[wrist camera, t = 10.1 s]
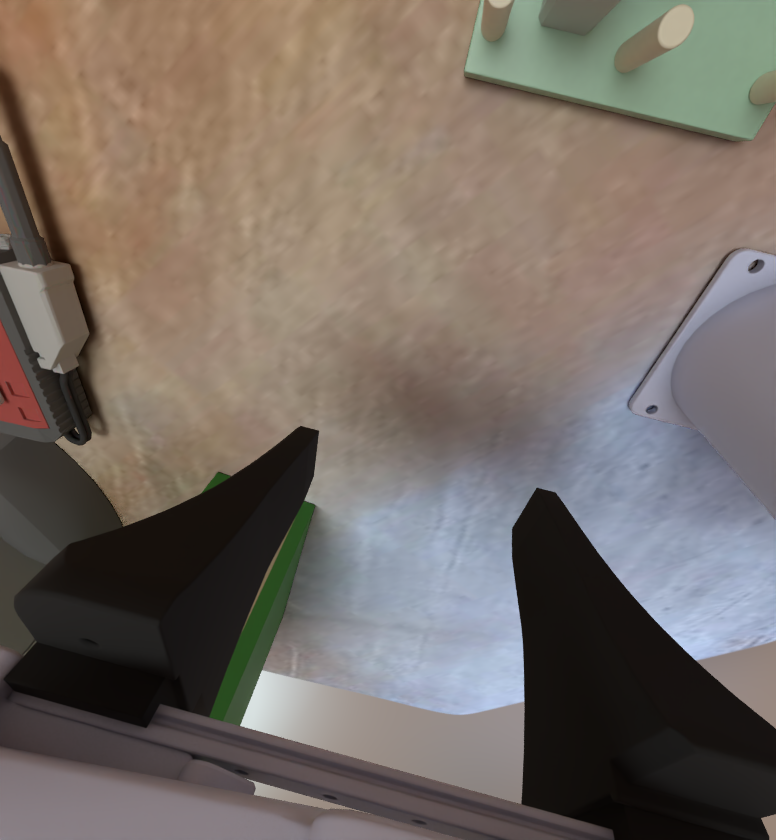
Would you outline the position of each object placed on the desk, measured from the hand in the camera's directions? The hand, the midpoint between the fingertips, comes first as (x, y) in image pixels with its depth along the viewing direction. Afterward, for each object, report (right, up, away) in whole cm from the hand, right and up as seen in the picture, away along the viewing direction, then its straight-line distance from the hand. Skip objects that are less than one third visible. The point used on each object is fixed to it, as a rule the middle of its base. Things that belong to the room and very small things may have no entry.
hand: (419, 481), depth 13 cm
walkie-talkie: (-22, +10, +9) cm, 26 cm away
